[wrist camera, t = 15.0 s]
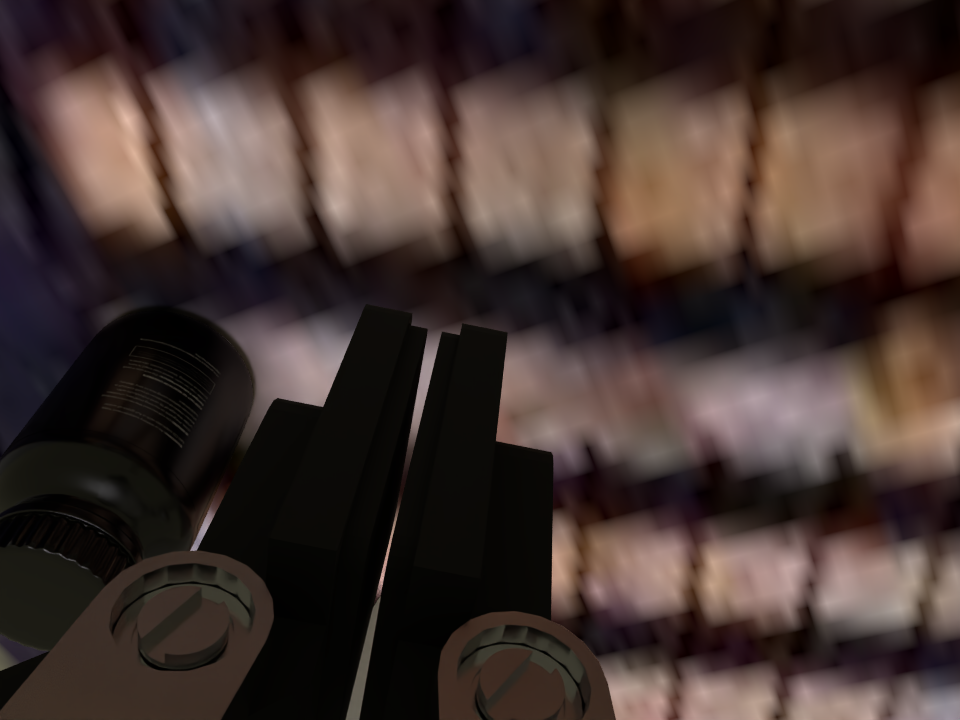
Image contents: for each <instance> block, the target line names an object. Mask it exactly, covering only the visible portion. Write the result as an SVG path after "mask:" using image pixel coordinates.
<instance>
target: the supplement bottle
mask: <svg viewBox="0 0 960 720" xmlns="http://www.w3.org/2000/svg"><path fill="white" fill-rule="evenodd" d="M252 403H253V387H252V381H251V377H250V374H249V371H248V369H247V367H246V365H245V363H244V361H243V359H242V357H241V356H240V355H239V353H238V352H237V350H236V349H235V348H234V347H233V346H232V345H231V344H230V343H229V342H228V341H227V340H226V339H225V338H224V337H223V336H222V335H220V334H219V333H218V332H216V331H215V330H214V329H212V328H211V327H209V326H207V325H205V324H204V323H202V322H200V321H197V320H195V319H193V318H190V317H187V316H184V315H180V314H176V313H171V312H164V311H145V312H137V313H132V314H129V315H126V316H123V317H121V318H118V319H116V320H115V321H113V322H111V323H109V324H108V325H107V326H105V327H104V328H103V329H102V330H101V331H100V332H99V333H98V334H97V335H96V336H95V337H94V338H93V340H92V341H91V342H90V343H89V345H88V346H87V347H86V348H85V349H84V351H83V352H82V353H81V354H80V356H79V357H78V358H77V360H76V361H75V362H74V363H73V365H72V366H71V367H70V369H69V370H68V371H67V372H66V374H65V375H64V376H63V378H62V379H61V380H60V381H59V383H58V384H57V385H56V387H55V388H54V389H53V390H52V392H51V393H50V394H49V396H48V397H47V398H46V399H45V401H44V402H43V403H42V405H41V406H40V407H39V409H38V410H37V411H36V412H35V414H34V415H33V416H32V418H31V419H30V420H29V421H28V423H27V424H26V425H25V427H24V428H23V429H22V430H21V432H20V433H19V434H18V436H17V437H16V438H15V439H14V441H13V442H12V443H11V445H10V446H9V447H8V448H7V450H6V451H5V452H4V454H3V455H2V456H1V458H0V634H1V635H4V636H5V637H7V638H8V639H9V640H11V641H15V642H18V643H20V644H22V645H23V646H27V647H33V648H35V649H37V650H43V651H51V650H52V649H53V647H54V646H55V645H56V644H57V643H58V641H59V640H60V639H61V638H62V637H63V635H64V634H65V633H66V632H67V631H68V630H69V628H70V627H71V626H72V625H73V624H74V622H75V621H76V620H77V619H78V618H79V616H80V615H81V614H82V613H83V612H84V610H85V609H86V608H87V607H88V606H89V605H90V603H91V602H92V601H93V600H94V599H95V597H96V596H97V595H98V594H99V593H100V591H101V590H102V589H103V588H104V587H105V586H106V585H107V584H108V583H110V582H111V581H112V580H113V579H114V578H115V577H116V576H117V575H119V574H120V573H121V572H122V571H123V570H125V569H127V568H129V567H131V566H133V565H135V564H137V563H139V562H141V561H143V560H145V559H147V558H151V557H154V556H158V555H162V554H166V553H170V552H178V551H190V550H191V548H192V546H193V544H194V542H195V540H196V537H197V535H198V533H199V531H200V528H201V526H202V524H203V521H204V519H205V517H206V515H207V512H208V510H209V508H210V505H211V503H212V501H213V499H214V496H215V494H216V492H217V489H218V487H219V485H220V483H221V480H222V478H223V476H224V473H225V471H226V469H227V467H228V464H229V462H230V460H231V458H232V455H233V453H234V451H235V448H236V446H237V444H238V442H239V439H240V437H241V435H242V432H243V430H244V428H245V425H246V422H247V420H248V417H249V415H250V411H251V408H252Z"/></svg>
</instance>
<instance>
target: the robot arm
mask: <svg viewBox="0 0 960 720" xmlns="http://www.w3.org/2000/svg"><path fill="white" fill-rule="evenodd" d="M411 323H412V313H408V312H403V311H398V310H393V309H388V308H383V307H378V306H373V305H368V304H366V306H365V307H364V310H363V312H362V315H361V317H360V319H359V322H358V324H357V327H356V329H355V331H354V334H353V336H352V339H351V341H350V344H349V346H348V348H347V351H346V353H345V356H344V358H343V360H342V363H341V365H340V368H339V370H338V373H337V375H336V377H335V380H334V382H333V385H332V387H331V389H330V392H329V394H328V397H327V399H326V402H325V404H324V406H323V407H320V406H314V405H309V404H304V403H299V402H294V401H289V400H284V399H279V398H277V399H275V400H274V401H273V402H272V404H271V406H270V407H269V409H268V411H267V413H266V415H265V417H264V419H263V421H262V423H261V425H260V427H259V429H258V431H257V433H256V435H255V437H254V439H253V441H252V442H251V444H250V446H249V448H248V450H247V452H246V454H245V456H244V458H243V460H242V462H241V464H240V466H239V468H238V470H237V472H236V474H235V476H234V478H233V480H232V482H231V484H230V486H229V488H228V490H227V492H226V494H225V496H224V498H223V500H222V502H221V504H220V506H219V508H218V510H217V512H216V514H215V516H214V518H213V520H212V522H211V523H210V525H209V527H208V529H207V531H206V533H205V535H204V537H203V539H202V541H201V543H200V545H199V547H198V549H197V551H178V552H170V553H166V554H162V555H158V556H154V557H151V558H147V559H145V560H143V561H141V562H139V563H137V564H135V565H133V566H131V567H129V568H127V569H125V570H123V571H122V572H121V573H120V574H119V575H117V576H116V577H115V578H114V579H113V580H112V581H111V582H110V583H108V584H107V585H106V586H105V587H104V588H103V589H102V590H101V591H100V593H99V594H98V595H97V596H96V597H95V599H94V600H93V601H92V602H91V603H90V605H89V606H88V607H87V608H86V609H85V610H84V612H83V613H82V614H81V615H80V616H79V618H78V619H77V620H76V621H75V622H74V624H73V625H72V626H71V627H70V628H69V630H68V631H67V632H66V633H65V634H64V635H63V637H62V638H61V639H60V640H59V641H58V643H57V644H56V645H55V646H54V647H53V649H52V650H51V651H49V652H46V653H44V654H41V655H39V656H36V657H34V658H31V659H29V660H26V661H24V662H22V663H19V664H17V665H14V666H12V667H9V668H7V669H4V670H2V671H0V720H346V716H347V712H348V708H349V704H350V700H351V696H352V692H353V687H354V683H355V679H356V675H357V671H358V667H359V663H360V659H361V655H362V651H363V646H364V642H365V638H366V634H367V630H368V626H369V622H370V618H371V614H372V610H373V605H374V601H375V597H376V593H377V589H378V585H379V581H380V577H381V573H382V568H383V564H384V560H385V556H386V552H387V548H388V544H389V540H390V536H391V531H392V527H393V523H394V518H395V513H396V508H397V503H398V497H399V491H400V486H401V480H402V474H403V469H404V463H405V457H406V452H407V446H408V440H409V435H410V429H411V423H412V417H413V412H414V406H415V400H416V395H417V389H418V383H419V378H420V372H421V366H422V361H423V355H424V349H425V343H426V338H427V330H428V329H426V328H421V327H416V326H411ZM506 343H507V332H503V331H498V330H493V329H488V328H483V327H478V326H473V325H468V324H463V323H462V328H461V333H460V335H456V334H451V333H446V332H442V334H441V338H440V342H439V346H438V350H437V355H436V359H435V363H434V367H433V371H432V375H431V380H430V384H429V388H428V392H427V396H426V400H425V405H424V409H423V413H422V417H421V421H420V425H419V430H418V434H417V438H416V442H415V446H414V450H413V455H412V459H411V463H410V467H409V471H408V475H407V480H406V484H405V488H404V492H403V496H402V500H401V505H400V509H399V513H398V517H397V521H396V525H395V530H394V534H393V538H392V542H391V547H390V552H389V556H388V561H387V566H386V571H385V576H384V581H383V587H382V592H381V598H380V604H379V609H378V615H377V621H376V626H375V632H374V638H373V643H372V649H371V655H370V661H369V666H368V672H367V678H366V683H365V689H364V695H363V700H362V706H361V712H360V718H359V720H616V718H615V714H614V709H613V705H612V700H611V696H610V691H609V687H608V683H607V681H606V678H605V676H604V673H603V671H602V668H601V666H600V663H599V661H598V660H597V659H596V657H595V656H594V655H593V654H592V652H591V651H590V650H589V648H588V647H587V646H586V645H585V643H584V642H583V641H581V640H580V639H579V638H577V637H576V636H575V635H574V634H572V633H571V632H570V631H568V630H567V629H566V628H564V627H563V626H561V625H559V624H556V623H554V622H552V621H551V585H552V521H553V455H552V453H551V452H548V451H543V450H538V449H532V448H527V447H522V446H517V445H512V444H507V443H502V442H497V441H496V434H497V425H498V416H499V407H500V398H501V389H502V379H503V370H504V361H505V352H506Z"/></svg>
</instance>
